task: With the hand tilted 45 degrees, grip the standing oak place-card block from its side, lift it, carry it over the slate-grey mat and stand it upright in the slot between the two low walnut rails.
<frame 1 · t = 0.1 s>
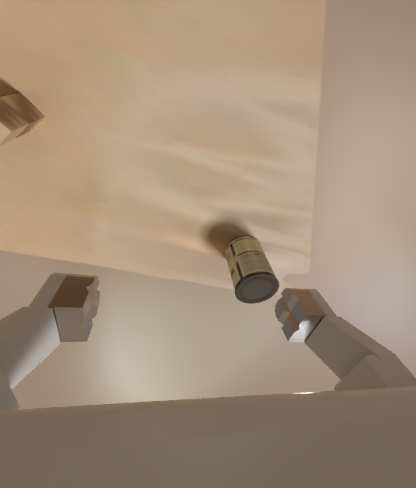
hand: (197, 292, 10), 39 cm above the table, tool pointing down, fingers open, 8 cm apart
card block: (25, 112, 36), on the table
coffee can: (242, 249, 62), on the table
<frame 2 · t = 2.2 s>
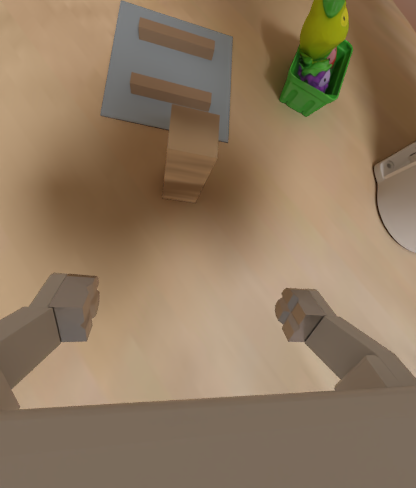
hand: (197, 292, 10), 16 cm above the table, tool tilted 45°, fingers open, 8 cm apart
mat: (174, 72, 30), on the table
card block: (180, 185, 27), on the table
fruit basket: (296, 88, 35), on the table
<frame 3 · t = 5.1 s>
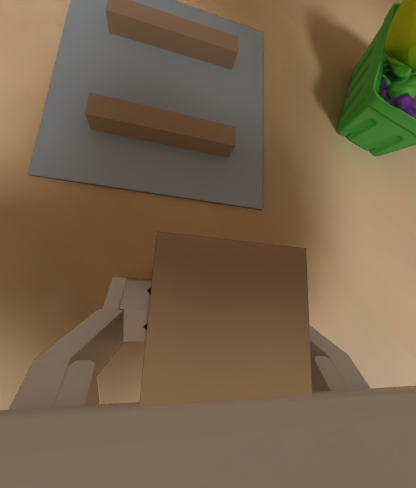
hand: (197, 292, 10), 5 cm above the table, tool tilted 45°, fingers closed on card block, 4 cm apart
mat: (170, 89, 18), on the table
card block: (180, 300, 15), on the table, touching gripper
fruit basket: (358, 111, 23), on the table
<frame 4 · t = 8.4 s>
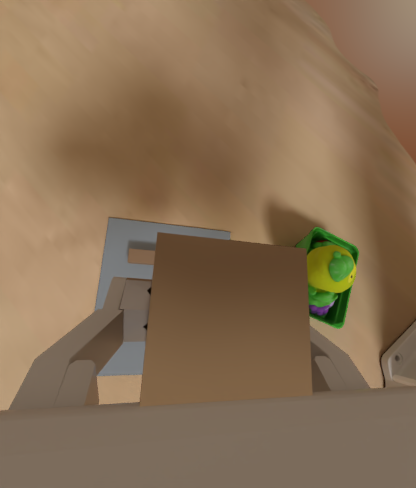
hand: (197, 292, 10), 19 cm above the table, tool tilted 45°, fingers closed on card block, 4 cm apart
mat: (167, 294, 28), on the table
card block: (180, 300, 15), point 14 cm above the table, touching gripper
fruit basket: (298, 276, 33), on the table
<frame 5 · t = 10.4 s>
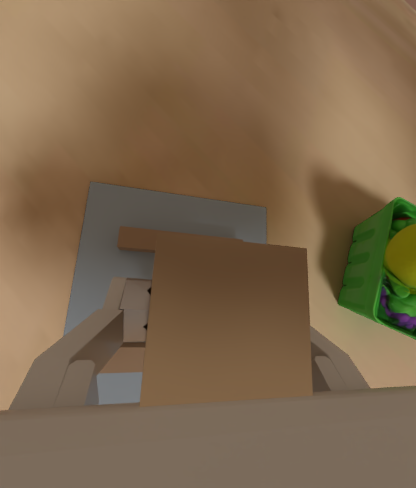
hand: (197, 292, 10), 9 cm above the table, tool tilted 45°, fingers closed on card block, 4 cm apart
mat: (178, 297, 18), on the table
card block: (180, 300, 15), point 4 cm above the table, touching gripper
fruit basket: (359, 271, 24), on the table
when the fingers open (7 cm above the table, at t = 11.9 s): card block drops 1 cm, resting on mat.
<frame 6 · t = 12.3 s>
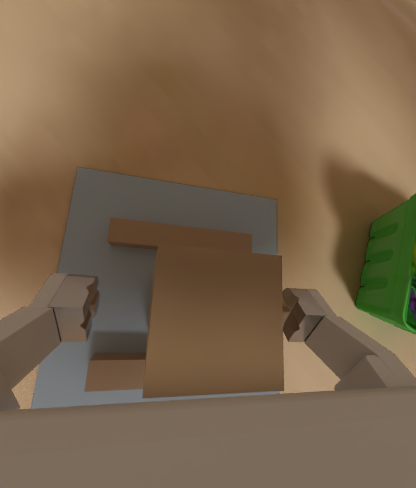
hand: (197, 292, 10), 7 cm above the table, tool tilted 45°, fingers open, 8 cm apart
mat: (178, 299, 16), on the table
card block: (179, 300, 16), resting on mat
fruit basket: (377, 270, 21), on the table
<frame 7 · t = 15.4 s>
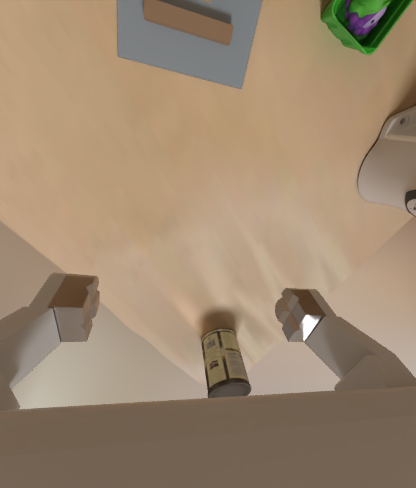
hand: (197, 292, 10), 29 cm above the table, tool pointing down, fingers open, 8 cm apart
coffee can: (218, 338, 63), on the table
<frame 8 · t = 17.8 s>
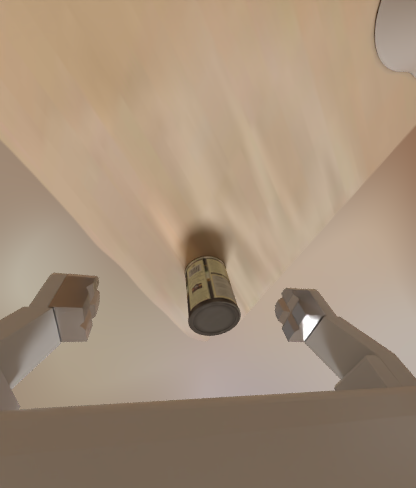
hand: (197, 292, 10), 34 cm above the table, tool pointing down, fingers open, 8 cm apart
coffee can: (205, 271, 55), on the table
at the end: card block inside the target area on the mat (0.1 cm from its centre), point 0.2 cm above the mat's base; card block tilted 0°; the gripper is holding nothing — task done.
